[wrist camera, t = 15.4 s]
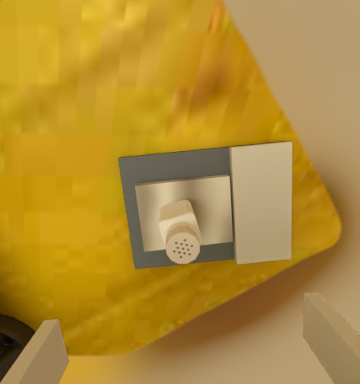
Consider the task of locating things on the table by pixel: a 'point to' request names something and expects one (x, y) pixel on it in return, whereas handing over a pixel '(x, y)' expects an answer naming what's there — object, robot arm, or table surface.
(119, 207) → the table surface
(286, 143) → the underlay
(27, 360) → the robot arm
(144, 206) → the plank
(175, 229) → the salt shaker
